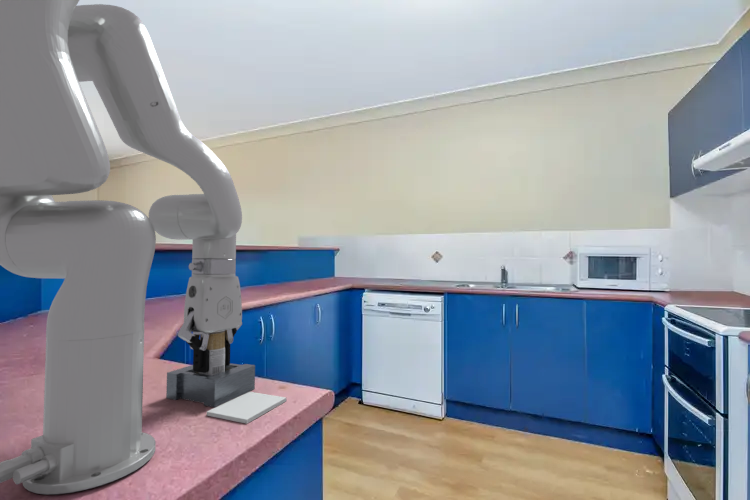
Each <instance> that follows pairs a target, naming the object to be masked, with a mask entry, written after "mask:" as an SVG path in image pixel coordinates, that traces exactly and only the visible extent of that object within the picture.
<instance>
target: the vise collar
mask: <svg viewBox="0 0 750 500" xmlns="http://www.w3.org/2000/svg"><path fill="white" fill-rule="evenodd" d="M255 380H256V365H255V364H248V363H244V364H243V363H242V364H237V363H231V362H230V365H227V366H225V371H224V372H221V373H218V374H215V375H213V376H212V375H205V374H199V372H196V371H193V364H191V365H187V366H185V367H181V368H178V369H175V370H174V369H173V370H171V371H167V372H166V399H169V400H173V401H177V400H186V401H191V402H195V403H196V402H198V403H200V404H201V403H203V406H206V407H210V408H216V407H218V406H220V405H222V404H224V403H226V402H229V401H231V400H233V399H235V398H237V397H239V396H242V395H244V394H246V393H248V392H252V391H253V390H255V388H256V387H255V386H256V385H255V384H256V383H255V382H256V381H255Z"/></svg>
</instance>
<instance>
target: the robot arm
mask: <svg viewBox="0 0 750 500" xmlns="http://www.w3.org/2000/svg"><path fill="white" fill-rule="evenodd" d="M79 2H80V0H0V266H1V267H2V268H4V269H5V270H7V271H8V272H10V273H12V274H14V275H18V276H21V277H25V278H30V279H31V278H32V279H34V278H35V279H63V282H62V284H61V285H60V287H59V289H58V290H57V292H56V294H55V296H54V298H53V300H52V301H51V305H50V306H49V310H48V313H47V318H46V326H45V327H46V328H45V339H46V340H45V358H44V359H45V364H44V390H43V393H44V394H43V396H44V397H43V421H42V423H43V424H42V425H43V426H42V435H40V436H36V437H34V438H32V439H31V440H30V441H31V442H30V448H28V449H25V450H24V451H22V452H21V455H19V456H16V457H14V458H10V459H5V460H3V461H0V484H1V483H4V482H6V481H8V480H11V479H12V480H13V482H14V484H15V485H20V484H22V486H23V488H25V489H26V491H29V492H31V493H34V494H37V495H39V494H40V495H64V494H72V493H76V492H81V491H87V490H89V489H90V490H91V489H93V488H97V487H101V486H104V485H107V484H109V483H112V482H115V481H118V480H119V479H122V478H123V477H126V476H128V475H130V474H132V473H133V472H135V471H137V470H138V469H140V468H141V467H143V466H144V465H145V464H146V463H147V462H149V461H150V460H151V459H152V457H154V455H155V452H156V445H157V443H156V442H157V441H156V439H155V438H154V437H153V435H151V434H150V433H147V432H143V402H144V401H143V397H144V395H143V393H144V392H143V391H144V388H143V387H144V359H145V357H144V352H145V314H146V313H145V310H146V298H147V288H148V287H147V286H148V281H149V277H150V272H151V268H152V263H153V260H154V257H155V256H154V255H155V251H156V242H157V236H156V233H157V234H158V235H160V236H161V237H164V238H166V239H170V240H183V241H184V240H192V247H191V248H192V250H191V251H192V253H191V254H192V255H191V258H192V259H191V262H190V263H189V265H188V269H189V271H191V276H190V277H189V278H188V282H187V288H186V291H185V297H184V298H185V299H184V308H183V324H182V325H181V327H180V328H179V330H178V333H177V337H178V338H180V339H181V340H183V341H185V342H186V343H187V344H188V346H189V348H190V350H193V351H192V353H193V354H192V356H193V357H192V365H193V371H196V372H203V373H206V372H208V371H209V350H208V349H206V348H207V344H208V338H209V333H213V332H218V331H223V330H225V366H227V365H230V363H231V344H233V342H234V337H235V335H236V333H237V331H238V330H239V329H240V328H241V326H242V325H243V322H242V320H243V305H242V304H243V303H242V293H241V292H242V291H241V284H240V279H239V276H237V275H236V262H237V261H236V258H237V233H238V232H239V231H240V229H241V226H242V223H243V214H242V213H243V211H242V207H241V202H240V199H239V195H238V193H237V189H236V186H235V182H234V181H233V177H232V175H231V173H230V171H229V170H228V168H227V167H226V166H225V164H224V163H223V161H222V160H221V159H220V158H219V157H218V156H217V155H216V154H215V152H213V150H211V149H210V147H209V146H207V145H206V144H205V143H204V142H203V141H202V140H201V139H199V138H198V137H197V136H195V135H194V134H193V133H191V132H190V131H189V130H188V129H187V128H186V126H185V124H184V122H183V120H182V118H181V115H180V112H179V110H178V107H177V104H176V102H175V100H174V97H173V94H172V92H171V89H170V86H169V83H168V81H167V78H166V75H165V73H164V69H163V68H162V64H161V62H160V59H159V56H158V55H157V54H158V53H157V51H156V48H155V47H154V44H153V41H152V39H151V36H150V34H149V31H148V30H147V29H148V28H146V26H145V24H144V22H142V20H141V19H140V18H139V16H138V15H136V14H135V13H134V12H132V11H130V10H128V9H126V8H125V7H121V6H117V5H112V4H102V3H99V4H98V3H96V4H81V5H78V3H79ZM81 82H92V83H93V85H94V87H95V89H96V91H97V93H98V95H99V97H100V99H101V101H102V103H103V105H104V107H105V109H106V112H107V113H108V116H109V118H110V120H111V122H112V124H113V126H114V128H115V130H116V132H117V134H118V137H119V139H120V140H121V141H122V142H123V143H124V144H125V145H126V146H127V147H130V148H131V149H134V150H136V151H138V152H140V153H143V154H145V155H148V156H150V157H153V158H155V159H157V160H160V161H162V162H165V163H167V164H169V165H171V166H173V167H176V168H177V169H178V170H180V171H182V172H184V173H185V174H186V175H188V177H190V178H191V179H192V180H193V181H194V182H195V183H196V184H197V185H198V186H199V189H201V191H202V192H203V193H193V194H171V195H166V196H165V195H164V196H162V197H159V198H158V199H156V200H155V201H154V202H153V203H152V204H151V206H150V207H149V209H148V216H147V214H145V213H144V212H143V211H142V210H141V209H139V208H137V207H135V206H133V205H131V204H129V203H124V202H121V201H114V200H104V199H103V200H97V199H96V200H68V201H55V199H54V197H53V196H58V195H59V196H60V195H75V194H77V195H78V194H83V193H87V192H88V193H89V192H90V191H94V190H95V189H96V190H97V189H98V188H99V187H101V186H102V185H103V184H105V183H106V181H107V180H108V178H109V175H110V173H111V163H110V158H109V155H108V151H107V148H106V145H105V142H104V139H103V137H102V135H101V133H100V130H99V128H98V125H97V123H96V120H95V117H94V115H93V113H92V110H91V108H90V106H89V103H88V100H87V99H86V96H85V94H84V91H83V88H82V87H81V84H80V83H81ZM200 335H202V336H201V340H200Z"/></svg>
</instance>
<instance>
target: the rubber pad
mask: <svg viewBox="0 0 750 500" xmlns="http://www.w3.org/2000/svg"><path fill="white" fill-rule="evenodd" d="M285 402H287V397H284V396H280V395H273V394H265V393H260V392H253V391H249V392H247V393H245V394H243V395H240V396H238V397H236V398H234V399H232V400H229V401H227V402H225V403H223V404H221V405H219V406H216V407H212V408H211V409H209V410H207V411H206V416H208V417H212V418H213V417H214V418H217V419H223V420H227V421H233V422H237V423H242V424H249V423H251V422H252V421H254V420H256V419H258V418H260V417H261V416H263V415H264V414H266V413H268V412H270V411H272V410H274V409H276V408H277V407H279V406H280V405H282V404H284V403H285Z"/></svg>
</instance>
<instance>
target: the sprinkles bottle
mask: <svg viewBox="0 0 750 500" xmlns="http://www.w3.org/2000/svg"><path fill="white" fill-rule="evenodd" d="M201 336H202V335H200V336H199V339H200V340H201ZM206 349H208V350H209V371H208V372H206V373H203V372H199V374H205V375H212V376H213V375H215V374H218V373H221V372H224V371H225V330H223V331H218V332H213V333H209V338H208V344H207V348H206Z"/></svg>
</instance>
